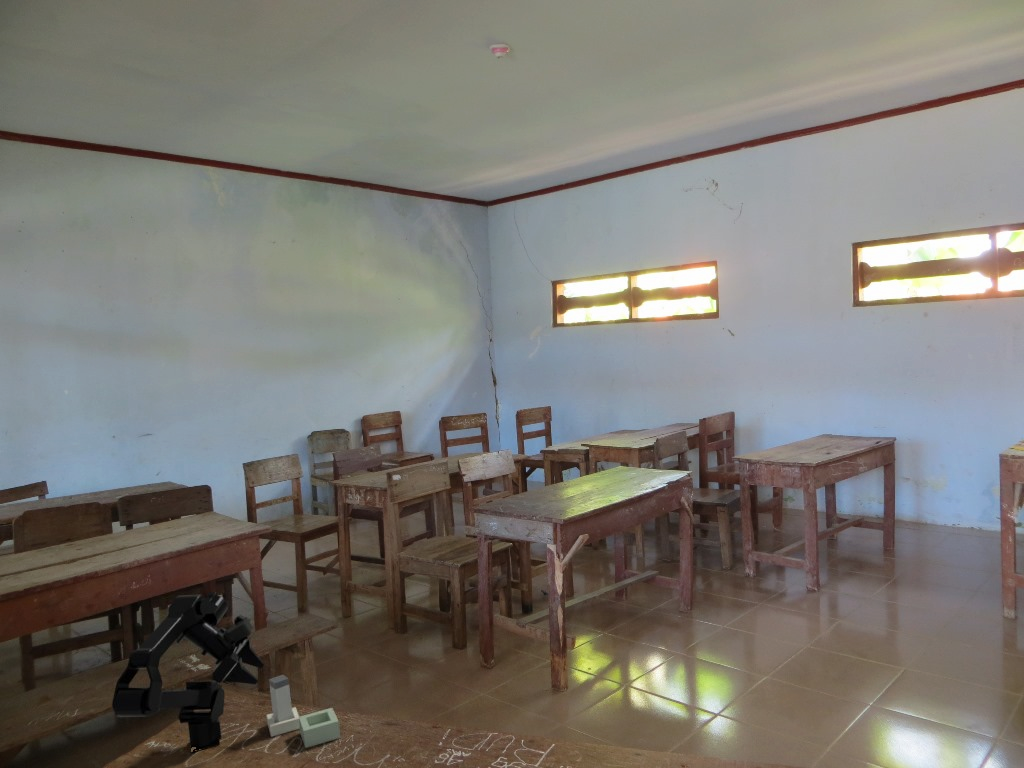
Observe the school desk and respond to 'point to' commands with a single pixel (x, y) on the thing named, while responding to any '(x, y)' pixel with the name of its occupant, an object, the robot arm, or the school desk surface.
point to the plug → (280, 698)
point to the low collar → (283, 724)
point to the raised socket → (319, 727)
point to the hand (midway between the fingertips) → (260, 674)
